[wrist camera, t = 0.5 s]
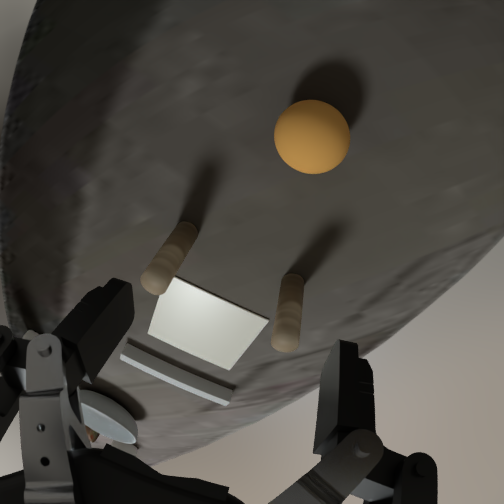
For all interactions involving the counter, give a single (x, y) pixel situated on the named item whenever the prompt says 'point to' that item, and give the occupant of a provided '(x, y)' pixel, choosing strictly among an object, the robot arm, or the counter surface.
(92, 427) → the serving bowl
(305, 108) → the ball
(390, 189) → the counter surface
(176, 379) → the wall
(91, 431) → the tin
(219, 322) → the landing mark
